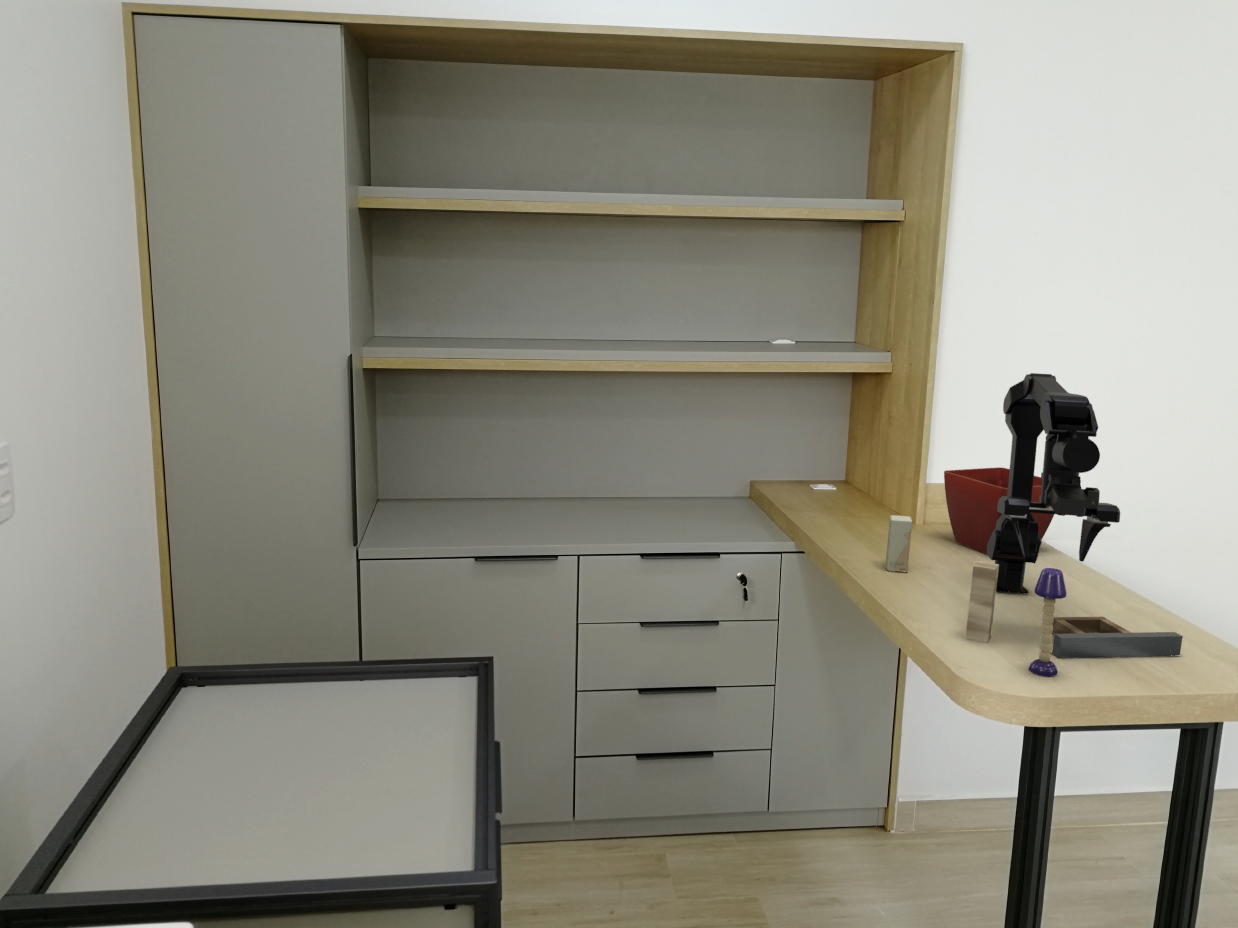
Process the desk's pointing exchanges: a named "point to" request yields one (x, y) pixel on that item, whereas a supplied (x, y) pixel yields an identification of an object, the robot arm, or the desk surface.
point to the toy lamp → (1048, 618)
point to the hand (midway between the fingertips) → (1053, 559)
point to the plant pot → (982, 504)
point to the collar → (1085, 625)
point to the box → (898, 543)
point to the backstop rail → (1116, 645)
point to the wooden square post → (982, 601)
